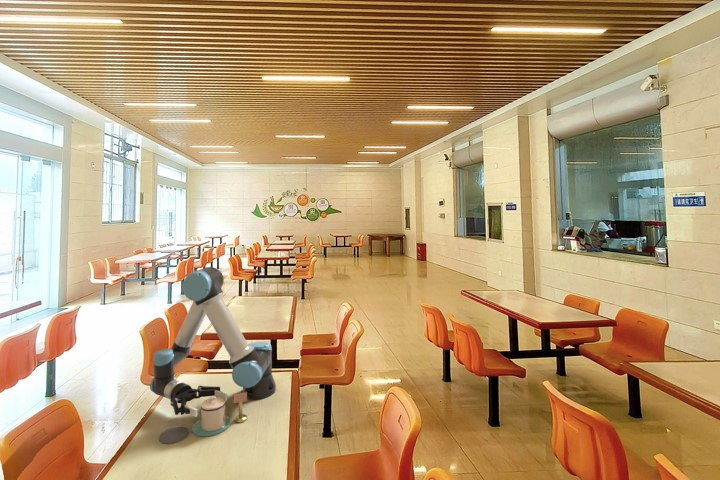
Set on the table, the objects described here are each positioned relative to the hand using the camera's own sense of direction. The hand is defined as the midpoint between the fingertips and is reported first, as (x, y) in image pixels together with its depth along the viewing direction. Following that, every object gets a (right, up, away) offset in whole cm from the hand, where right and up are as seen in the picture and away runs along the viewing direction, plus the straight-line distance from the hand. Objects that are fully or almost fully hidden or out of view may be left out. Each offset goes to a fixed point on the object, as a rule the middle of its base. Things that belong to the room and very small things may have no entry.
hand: (212, 404), depth 142 cm
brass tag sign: (+9, -9, +6) cm, 14 cm away
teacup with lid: (0, -8, +1) cm, 8 cm away
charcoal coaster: (-12, -9, -5) cm, 16 cm away
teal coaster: (-1, -9, +1) cm, 9 cm away
